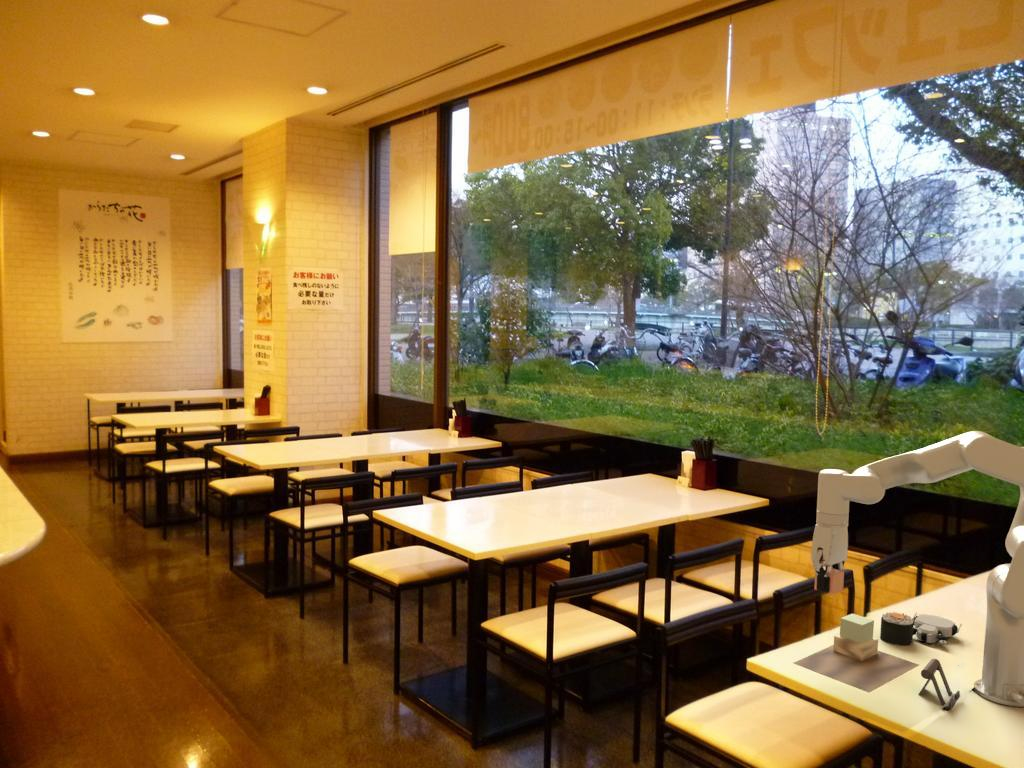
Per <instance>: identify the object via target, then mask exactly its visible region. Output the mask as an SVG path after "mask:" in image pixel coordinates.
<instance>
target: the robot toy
mask: <svg viewBox="0 0 1024 768" xmlns="http://www.w3.org/2000/svg"><path fill="white" fill-rule="evenodd" d="M912 618H913V619H914V625H913V636H914V635H916V638H917V640H918V641H920V642H925V643H928V644H934V643H936V642H938V643H939V644H940V645H947V643H948V642H947V639H946V638H951V637H952V636H953V637H954V636H955V635H957V634H959V632H960V629H961V627H962V625H963V624H962V623H960V624H959V627H958V626H957V625H956V623H955V621H954V622H953V620H950V619H948V618H944V617H941V616H938V615H934V614H933V615H932V614H926V613H923V614H918V613H917V612H915V613H914V615H913V617H912ZM945 637H946V638H945Z"/></svg>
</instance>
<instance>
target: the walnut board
mask: <svg viewBox="0 0 1024 768" xmlns="http://www.w3.org/2000/svg"><path fill="white" fill-rule="evenodd" d="M833 647H834V644H833V645H830V646H828V647H825V648H824V649H821V650H819V651H817V652H813V653H812V654H810V655H808V656H805V657H803V658H801V659H799V660H796V661H795V662H793V664H795V665H796V666H800V667H803V668H805V669H808V670H810V671H813V672H815V673H816V674H817V673H818V674H820V675H823V676H825V677H828V678H831V679H832V680H835V681H838V682H840V683H844V684H846V685H848V686H851V687H853V688H857V689H859V690H860V691H861V690H862V691H864V692H866V693H870V692H873V691H875V690H877V689H878V688H881V687H882V686H884V685H885V684H887V683H889V682H890V681H892V680H895V679H896V678H898V677H899V676H902V675H903V674H905V673H907V672H909V671H911V670H913V669H915V668H916V667H918V666H920V664H919V663H916V662H912V661H909V660H907V659H903V658H901V657H898V656H894V655H891V654H889V653H886V652H884V651H881V650H878V652H877V654H875V655H873V656H871V657H869V658H867V659H865V660H863V661H861V660H858V659H856V658H853V657H850V656H847V655H844V654H842V653H839V652H836V651H833Z"/></svg>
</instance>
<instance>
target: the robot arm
mask: <svg viewBox="0 0 1024 768" xmlns="http://www.w3.org/2000/svg"><path fill="white" fill-rule="evenodd" d="M972 470H975V471H977V472H979V473H981V474H984V475H987V476H990V477H993V478H996V479H999V480H1000V481H1004V482H1008V483H1010V484H1012V485H1013V484H1014V485H1016V486H1019V492H1020V493H1019V494H1020V495H1019V500H1018V505H1017V508H1016V511H1015V514H1014V517H1013V519H1012V523H1011V525H1010V528H1009V531H1008V533H1007V535H1006V538H1005V544H1004V545H1005V548H1006V549H1005V550H1006V552H1007V553H1008V554H1009V556H1010V557H1011V558H1012V559H1011V562H1010V563H1004V564H999V565H997V566H996V567H994V568H992V570H991V571H990V572H989V573H988V576H987V579H986V587H985V589H986V617H985V618H986V620H985V632H984V645H983V660H982V674H981V678H980V679H977V680H975V681H974V683H973V689H974V691H975V693H977V694H978V695H979V696H981V697H983V698H984V699H986V700H989V701H991V702H994V703H997V704H1001V705H1004V706H1010V707H1017V708H1019V707H1020V708H1021V707H1023V708H1024V446H1020V445H1019V446H1018V445H1015V444H1013V443H1009V442H1007V441H1005V440H1001V439H998V438H996V437H994V436H992V435H991V434H989V433H986V432H984V431H981V430H972V431H967V432H964V433H961V434H958V435H956V436H953V437H951V438H947V439H945V440H942V441H939V442H937V443H934V444H930V445H927V446H925V447H923V448H919V449H916V450H912V451H911V450H910V451H908V452H905V453H904V452H903V453H902V454H897V455H893V456H890V457H886V458H883V459H881V460H877V461H874V462H872V463H868V464H866V465H864V466H861V467H858V468H856V469H855V470H854V471H853V472H852V473H849V472H848V471H846V470H843V469H837V468H836V469H835V468H825V469H822V470H820V471H819V473H818V478H817V480H818V481H817V499H816V521H815V522H816V524H815V526H814V530H813V536H812V542H811V544H812V545H811V553H810V560H811V562H812V565H811V566H812V568H813V569H814V571H815V570H816V575H817V590H816V591H818V590H819V592H822V593H825V592H826V594H829V593H828V592H829V589H830V577H828V576H829V571H830V568H833V569H837V570H841V571H844V565H845V563H846V560H847V558H848V549H849V532H848V527H849V515H850V514H849V513H850V502H855V503H860V504H865V505H873V504H876V503H879V502H880V501H882V499H883V498H884V496H885V494H886V490H888V489H890V488H891V489H892V488H895V487H897V486H898V487H899V486H901V485H907V484H931V483H932V484H933V483H936V482H940V481H943V480H945V479H948V478H951V477H954V476H956V475H960V474H962V473H966V472H969V471H972ZM824 562H825V563H824ZM823 567H826V568H825V570H824V568H823Z"/></svg>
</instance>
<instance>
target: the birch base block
mask: <svg viewBox="0 0 1024 768" xmlns="http://www.w3.org/2000/svg"><path fill="white" fill-rule="evenodd" d="M833 645H834V647H833V651H836V652H839V653H842V654H844V655H847V656H850V657H853V658H856V659H858V660H861V661H863V660H865V659H867V658H869V657H871V656H873V655H875V654H877V652H878V651H879V638H877V637H874V636H873V639H871V640H869V641H866V642H864V643H862V644H860V643H857V642H855V641H852V640H849V639H846V638H843V637H840V633H838V634H836V635H834V636H833Z"/></svg>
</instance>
